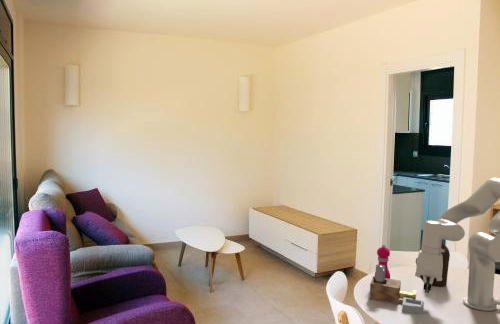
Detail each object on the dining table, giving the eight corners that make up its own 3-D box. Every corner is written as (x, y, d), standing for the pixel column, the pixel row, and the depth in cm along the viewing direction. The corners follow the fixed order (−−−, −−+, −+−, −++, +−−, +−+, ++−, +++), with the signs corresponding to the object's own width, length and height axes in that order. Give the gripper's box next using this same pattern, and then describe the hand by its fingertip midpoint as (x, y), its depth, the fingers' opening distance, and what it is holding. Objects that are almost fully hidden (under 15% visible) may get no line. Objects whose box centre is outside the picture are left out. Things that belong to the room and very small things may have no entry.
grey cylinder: (384, 295, 184) (385, 265, 182) (383, 298, 180) (384, 268, 179) (375, 293, 185) (376, 264, 184) (374, 297, 182) (375, 266, 180)
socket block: (400, 295, 184) (400, 280, 183) (398, 304, 175) (399, 288, 174) (372, 290, 189) (373, 276, 188) (369, 298, 180) (370, 283, 179)
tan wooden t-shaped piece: (415, 299, 178) (416, 290, 178) (415, 303, 174) (415, 294, 174) (398, 296, 181) (398, 287, 181) (397, 300, 177) (398, 291, 177)
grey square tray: (423, 306, 172) (423, 300, 172) (423, 314, 165) (423, 308, 165) (403, 303, 176) (403, 297, 175) (402, 310, 168) (402, 304, 168)
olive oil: (441, 289, 192) (444, 237, 190) (420, 282, 200) (422, 232, 198) (451, 284, 199) (454, 234, 196) (430, 277, 207) (433, 229, 205)
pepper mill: (372, 285, 195) (374, 245, 193) (375, 280, 201) (377, 241, 200) (388, 288, 192) (390, 247, 190) (391, 283, 198) (392, 243, 196)
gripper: (450, 250, 173) (445, 292, 174) (412, 244, 179) (408, 285, 180) (450, 255, 166) (446, 298, 167) (411, 249, 172) (407, 290, 173)
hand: (426, 291), depth 174 cm, fingers closed
